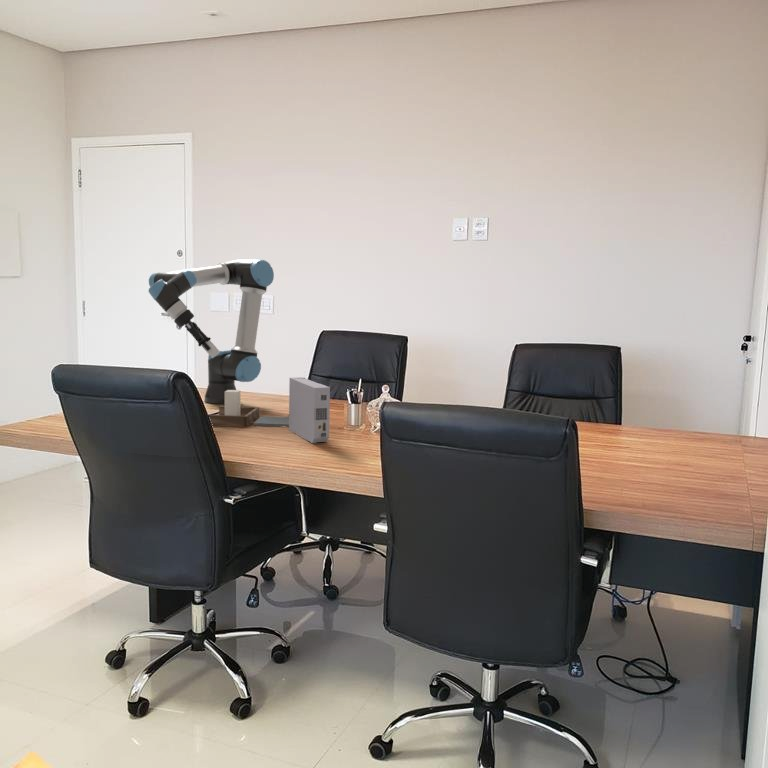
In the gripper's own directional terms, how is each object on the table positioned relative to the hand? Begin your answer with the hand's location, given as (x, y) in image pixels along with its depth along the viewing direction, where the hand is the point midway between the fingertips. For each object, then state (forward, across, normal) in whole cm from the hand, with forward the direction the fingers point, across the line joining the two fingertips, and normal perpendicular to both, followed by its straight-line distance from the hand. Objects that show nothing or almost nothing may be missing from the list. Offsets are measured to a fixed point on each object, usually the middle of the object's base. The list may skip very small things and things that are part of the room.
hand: (216, 355), depth 310 cm
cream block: (+24, +9, -12) cm, 28 cm away
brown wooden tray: (+24, +9, -12) cm, 28 cm away
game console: (+44, +39, +9) cm, 59 cm away
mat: (+35, +12, +1) cm, 37 cm away
